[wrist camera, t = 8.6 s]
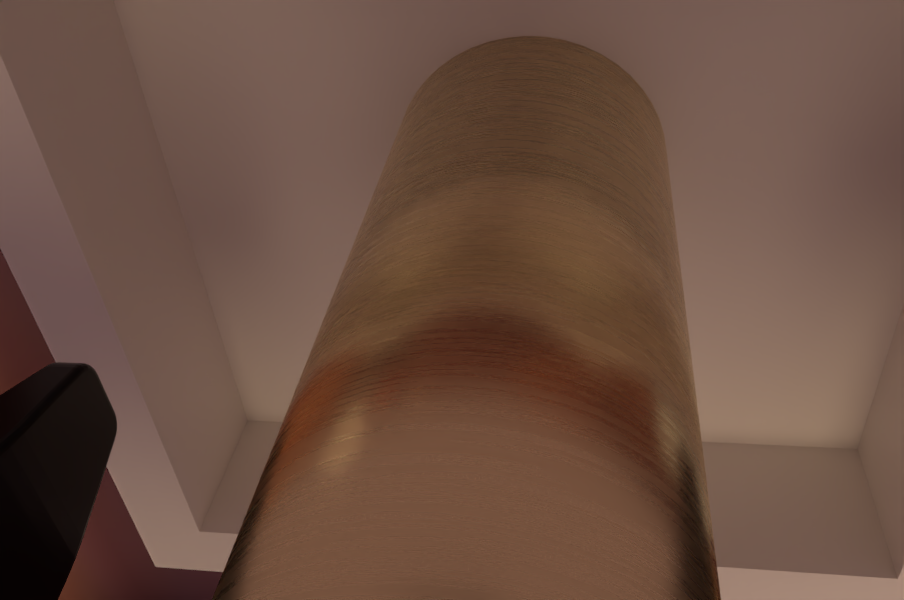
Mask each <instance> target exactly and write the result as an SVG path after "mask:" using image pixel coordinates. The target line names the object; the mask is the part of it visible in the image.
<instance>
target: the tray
mask: <svg viewBox="0 0 904 600" xmlns="http://www.w3.org/2000/svg"><path fill="white" fill-rule="evenodd" d="M519 36H540V37H550V38H556V39H562V40H566V41H569V42H573V43H576V44H579V45H583V46H585V47H587V48H589V49H591V50H594V51H596V52H598V53H600V54H602V55H603V56H605V57H607V58H608V59H610V60H611V61H613V62H615V63H616V64H617V65H619V66H620V67H621V68H622V69H623V70H625V71H626V72H627V73H628V74H629V75H630V76H631V77H632V78H633V79H634V80H635V81H636V82H637V83H638V84H639V85H640V87H641V88H642V89H643V90H644V92H645V93H646V95H647V96H648V98H649V99H650V101H651V102H652V104H653V106H654V108H655V110H656V112H657V115H658V117H659V119H660V122H661V126H662V129H663V132H664V137H665V144H666V151H667V159H668V167H669V176H670V184H671V192H672V200H673V209H674V217H675V225H676V233H677V241H678V250H679V258H680V266H681V274H682V283H683V291H684V299H685V307H686V316H687V324H688V332H689V340H690V348H691V357H692V365H693V373H694V381H695V390H696V398H697V406H698V414H699V423H700V431H701V439H702V447H703V455H704V464H705V472H706V480H707V488H708V497H709V505H710V513H711V521H712V529H713V538H714V546H715V554H716V562H717V571H718V579H719V587H720V595H721V600H904V0H0V249H1V251H2V253H3V255H4V257H5V259H6V261H7V263H8V265H9V267H10V269H11V272H12V274H13V276H14V278H15V280H16V282H17V284H18V286H19V288H20V290H21V292H22V294H23V296H24V298H25V300H26V302H27V304H28V306H29V308H30V311H31V313H32V315H33V317H34V319H35V321H36V323H37V325H38V327H39V329H40V331H41V333H42V335H43V337H44V339H45V341H46V343H47V345H48V347H49V349H50V352H51V354H52V356H53V358H54V360H55V362H56V363H57V362H67V363H85V364H88V365H90V366H91V367H93V368H94V369H95V371H96V372H97V374H98V376H99V378H100V381H101V383H102V385H103V387H104V389H105V392H106V394H107V396H108V398H109V400H110V403H111V405H112V407H113V409H114V412H115V414H116V419H117V432H116V437H115V441H114V444H113V447H112V450H111V453H110V456H109V459H108V462H107V465H106V466H107V468H108V471H109V473H110V475H111V477H112V479H113V481H114V483H115V485H116V487H117V489H118V491H119V493H120V495H121V497H122V499H123V501H124V503H125V505H126V507H127V510H128V512H129V514H130V516H131V518H132V520H133V522H134V524H135V526H136V528H137V530H138V532H139V534H140V536H141V538H142V540H143V542H144V544H145V546H146V548H147V551H148V553H149V555H150V557H151V559H152V561H153V563H154V565H155V567H163V568H176V569H190V570H203V571H216V572H223V571H224V568H225V566H226V563H227V561H228V558H229V556H230V553H231V551H232V548H233V546H234V543H235V541H236V538H237V536H238V533H239V531H240V528H241V526H242V523H243V521H244V518H245V516H246V513H247V511H248V508H249V506H250V503H251V500H252V498H253V495H254V493H255V490H256V488H257V485H258V483H259V480H260V478H261V475H262V473H263V470H264V468H265V465H266V463H267V460H268V458H269V455H270V453H271V450H272V448H273V445H274V443H275V440H276V438H277V435H278V433H279V430H280V427H281V425H282V422H283V420H284V417H285V415H286V412H287V410H288V407H289V405H290V402H291V400H292V397H293V395H294V392H295V390H296V387H297V385H298V382H299V380H300V377H301V375H302V372H303V370H304V367H305V365H306V362H307V359H308V357H309V354H310V352H311V349H312V347H313V344H314V342H315V339H316V337H317V334H318V332H319V329H320V327H321V324H322V322H323V319H324V317H325V314H326V312H327V309H328V307H329V304H330V302H331V299H332V297H333V294H334V292H335V289H336V286H337V284H338V281H339V279H340V276H341V274H342V271H343V269H344V266H345V264H346V261H347V259H348V256H349V254H350V251H351V249H352V246H353V244H354V241H355V239H356V236H357V234H358V231H359V229H360V226H361V224H362V221H363V218H364V216H365V213H366V211H367V208H368V206H369V203H370V201H371V198H372V196H373V193H374V191H375V188H376V186H377V183H378V181H379V178H380V176H381V173H382V171H383V168H384V166H385V163H386V161H387V158H388V156H389V153H390V151H391V148H392V145H393V143H394V140H395V138H396V135H397V133H398V130H399V128H400V125H401V123H402V120H403V118H404V115H405V113H406V110H407V108H408V106H409V104H410V102H411V100H412V99H413V97H414V95H415V94H416V92H417V91H418V89H419V88H420V87H421V86H422V84H423V83H424V82H425V81H426V79H427V78H428V77H429V76H430V75H431V74H433V73H434V72H435V71H436V70H437V69H438V68H439V67H440V66H442V65H443V64H444V63H446V62H447V61H449V60H450V59H451V58H453V57H454V56H456V55H458V54H460V53H462V52H464V51H466V50H468V49H470V48H472V47H475V46H478V45H480V44H483V43H486V42H489V41H494V40H498V39H503V38H508V37H519Z"/></svg>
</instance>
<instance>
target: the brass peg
mask: <svg viewBox="0 0 904 600" xmlns="http://www.w3.org/2000/svg"><path fill="white" fill-rule="evenodd" d="M212 600H721V595H720V587H719V579H718V571H717V562H716V554H715V546H714V538H713V529H712V521H711V513H710V505H709V497H708V488H707V480H706V472H705V464H704V455H703V447H702V439H701V431H700V423H699V414H698V406H697V398H696V390H695V381H694V373H693V365H692V357H691V348H690V340H689V332H688V324H687V316H686V307H685V299H684V291H683V283H682V274H681V266H680V258H679V250H678V241H677V233H676V225H675V217H674V209H673V200H672V192H671V184H670V176H669V167H668V159H667V151H666V144H665V137H664V132H663V129H662V126H661V122H660V119H659V117H658V115H657V112H656V110H655V108H654V106H653V104H652V102H651V101H650V99H649V98H648V96H647V95H646V93H645V92H644V90H643V89H642V88H641V87H640V85H639V84H638V83H637V82H636V81H635V80H634V79H633V78H632V77H631V76H630V75H629V74H628V73H627V72H626V71H625V70H623V69H622V68H621V67H620V66H619V65H617V64H616V63H615V62H613V61H611V60H610V59H608V58H607V57H605V56H603V55H602V54H600V53H598V52H596V51H594V50H591V49H589V48H587V47H585V46H583V45H579V44H576V43H573V42H569V41H566V40H562V39H556V38H550V37H540V36H519V37H508V38H503V39H498V40H494V41H489V42H486V43H483V44H480V45H478V46H475V47H472V48H470V49H468V50H466V51H464V52H462V53H460V54H458V55H456V56H454V57H453V58H451V59H450V60H449V61H447V62H446V63H444V64H443V65H442V66H440V67H439V68H438V69H437V70H436V71H435V72H434V73H433V74H431V75H430V76H429V77H428V78H427V79H426V81H425V82H424V83H423V84H422V86H421V87H420V88H419V89H418V91H417V92H416V94H415V95H414V97H413V99H412V100H411V102H410V104H409V106H408V108H407V110H406V113H405V115H404V118H403V120H402V123H401V125H400V128H399V130H398V133H397V135H396V138H395V140H394V143H393V145H392V148H391V151H390V153H389V156H388V158H387V161H386V163H385V166H384V168H383V171H382V173H381V176H380V178H379V181H378V183H377V186H376V188H375V191H374V193H373V196H372V198H371V201H370V203H369V206H368V208H367V211H366V213H365V216H364V218H363V221H362V224H361V226H360V229H359V231H358V234H357V236H356V239H355V241H354V244H353V246H352V249H351V251H350V254H349V256H348V259H347V261H346V264H345V266H344V269H343V271H342V274H341V276H340V279H339V281H338V284H337V286H336V289H335V292H334V294H333V297H332V299H331V302H330V304H329V307H328V309H327V312H326V314H325V317H324V319H323V322H322V324H321V327H320V329H319V332H318V334H317V337H316V339H315V342H314V344H313V347H312V349H311V352H310V354H309V357H308V359H307V362H306V365H305V367H304V370H303V372H302V375H301V377H300V380H299V382H298V385H297V387H296V390H295V392H294V395H293V397H292V400H291V402H290V405H289V407H288V410H287V412H286V415H285V417H284V420H283V422H282V425H281V427H280V430H279V433H278V435H277V438H276V440H275V443H274V445H273V448H272V450H271V453H270V455H269V458H268V460H267V463H266V465H265V468H264V470H263V473H262V475H261V478H260V480H259V483H258V485H257V488H256V490H255V493H254V495H253V498H252V500H251V503H250V506H249V508H248V511H247V513H246V516H245V518H244V521H243V523H242V526H241V528H240V531H239V533H238V536H237V538H236V541H235V543H234V546H233V548H232V551H231V553H230V556H229V558H228V561H227V563H226V566H225V568H224V571H223V573H222V576H221V579H220V581H219V584H218V586H217V589H216V591H215V594H214V596H213V599H212Z"/></svg>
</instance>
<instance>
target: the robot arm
mask: <svg viewBox="0 0 904 600" xmlns="http://www.w3.org/2000/svg"><path fill="white" fill-rule="evenodd" d="M116 432H117V419H116V414H115V412H114V409H113V407H112V405H111V403H110V400H109V398H108V396H107V394H106V392H105V389H104V387H103V385H102V383H101V381H100V378H99V376H98V374H97V372H96V371H95V369H94V368H93V367H91V366H90V365H88V364H85V363H67V362H57V363H52V364H49V365H48V366H46V367H44V368H43V369H41V370H39V371H38V372H36V373H35V374H33V375H32V376H30V377H28V378H27V379H25V380H24V381H22V382H20V383H19V384H17V385H16V386H14V387H13V388H11V389H9V390H8V391H6V392H5V393H3V394H1V395H0V600H58V598H59V596H60V593H61V591H62V589H63V587H64V585H65V582H66V580H67V578H68V575H69V573H70V570H71V568H72V566H73V563H74V561H75V558H76V556H77V553H78V550H79V547H80V545H81V542H82V539H83V536H84V533H85V530H86V527H87V524H88V521H89V518H90V515H91V512H92V508H93V505H94V502H95V499H96V496H97V493H98V490H99V487H100V484H101V481H102V478H103V475H104V472H105V468H106V465H107V462H108V459H109V456H110V453H111V450H112V447H113V444H114V441H115V437H116Z"/></svg>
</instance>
